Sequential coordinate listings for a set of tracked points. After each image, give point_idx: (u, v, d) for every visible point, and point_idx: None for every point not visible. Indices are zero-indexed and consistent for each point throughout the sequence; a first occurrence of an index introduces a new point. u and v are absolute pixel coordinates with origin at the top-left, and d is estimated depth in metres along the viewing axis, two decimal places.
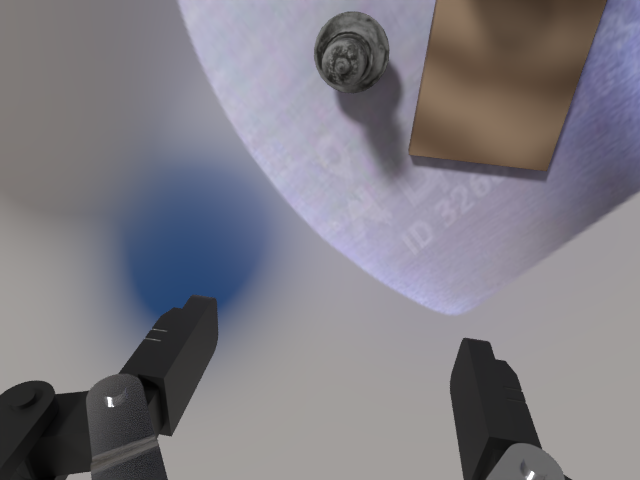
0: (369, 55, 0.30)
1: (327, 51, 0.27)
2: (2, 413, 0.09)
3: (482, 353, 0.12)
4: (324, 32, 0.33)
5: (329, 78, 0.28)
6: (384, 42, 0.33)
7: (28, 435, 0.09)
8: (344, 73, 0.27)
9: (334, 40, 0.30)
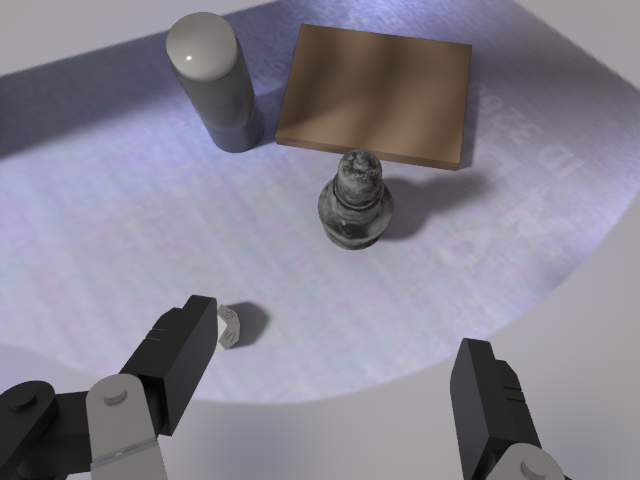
0: None
1: (346, 181, 0.27)
2: (2, 413, 0.09)
3: (482, 353, 0.12)
4: (333, 229, 0.33)
5: (373, 180, 0.27)
6: None
7: (28, 436, 0.09)
8: (368, 162, 0.27)
9: (339, 196, 0.30)
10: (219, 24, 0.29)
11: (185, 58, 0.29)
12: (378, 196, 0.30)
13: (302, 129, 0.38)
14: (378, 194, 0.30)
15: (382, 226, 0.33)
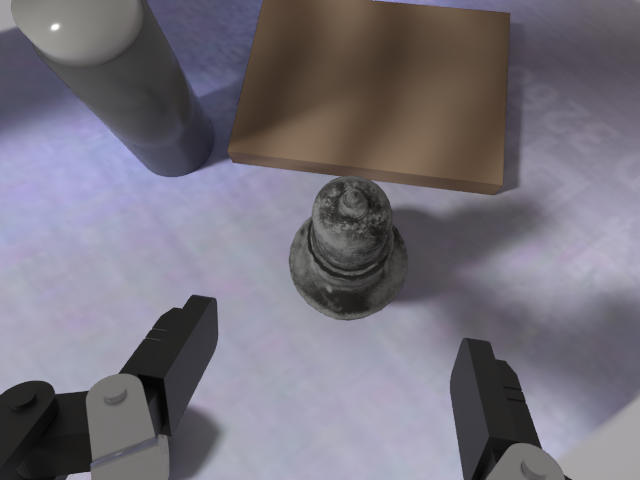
0: None
1: (328, 237, 0.15)
2: (2, 413, 0.09)
3: (482, 353, 0.12)
4: (314, 298, 0.21)
5: (376, 234, 0.14)
6: None
7: (28, 435, 0.09)
8: (367, 201, 0.14)
9: (318, 255, 0.17)
10: None
11: (42, 25, 0.16)
12: (386, 253, 0.17)
13: (267, 140, 0.26)
14: (385, 249, 0.17)
15: (391, 291, 0.21)
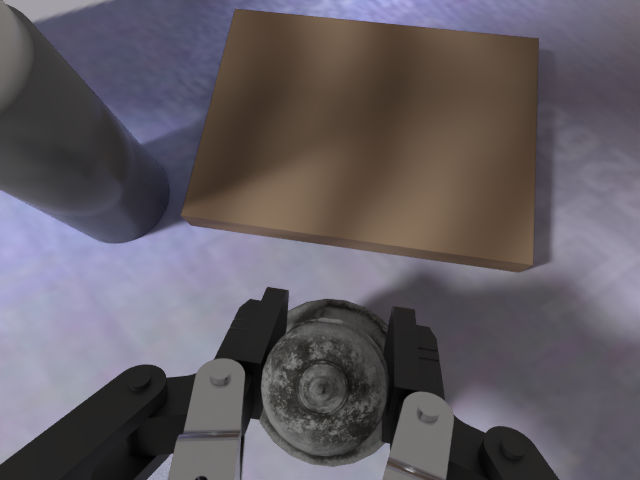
0: None
1: (283, 434, 0.09)
2: (121, 388, 0.10)
3: (405, 319, 0.13)
4: None
5: (360, 433, 0.09)
6: (312, 308, 0.17)
7: (133, 419, 0.10)
8: (345, 381, 0.09)
9: None
10: None
11: None
12: None
13: (232, 201, 0.20)
14: None
15: None
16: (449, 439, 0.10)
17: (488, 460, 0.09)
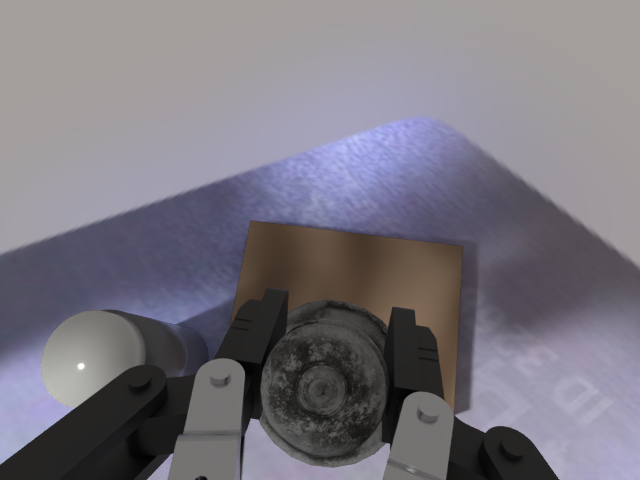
0: None
1: (282, 435, 0.09)
2: (120, 388, 0.10)
3: (405, 319, 0.13)
4: None
5: (359, 435, 0.09)
6: (311, 308, 0.17)
7: (133, 418, 0.10)
8: (344, 382, 0.09)
9: None
10: (114, 330, 0.21)
11: (66, 388, 0.21)
12: None
13: None
14: None
15: None
16: (449, 439, 0.10)
17: (488, 460, 0.09)
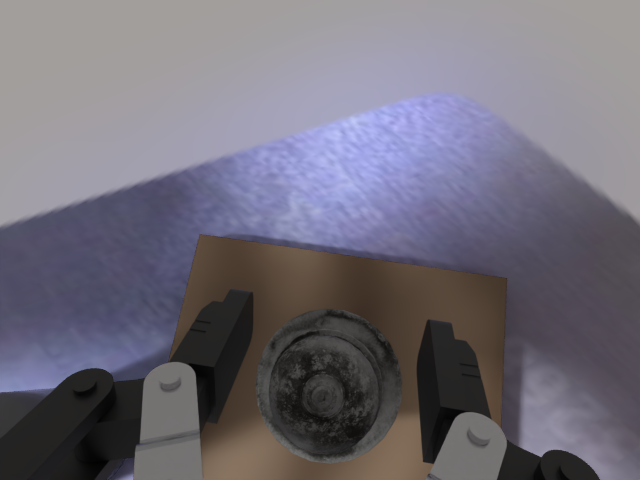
0: None
1: (288, 435, 0.10)
2: (65, 396, 0.10)
3: (443, 333, 0.13)
4: (284, 436, 0.17)
5: (355, 435, 0.10)
6: (312, 317, 0.18)
7: (84, 423, 0.09)
8: (342, 389, 0.10)
9: None
10: None
11: None
12: None
13: None
14: None
15: (381, 428, 0.17)
16: (498, 466, 0.09)
17: None
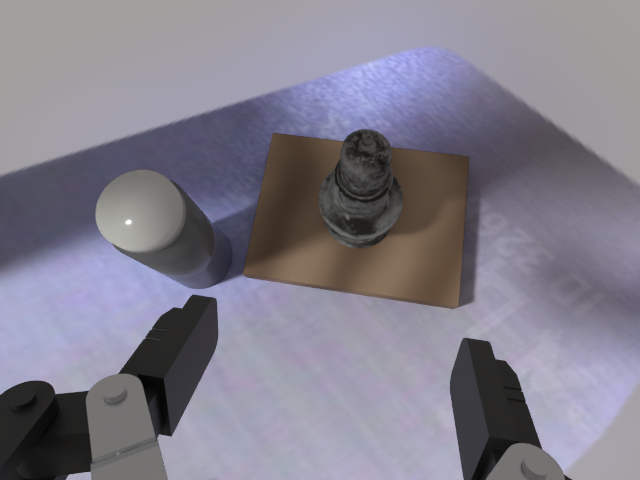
0: None
1: (351, 166, 0.23)
2: (2, 413, 0.09)
3: (482, 353, 0.12)
4: (336, 225, 0.29)
5: (381, 164, 0.23)
6: None
7: (29, 436, 0.09)
8: (376, 143, 0.23)
9: (342, 186, 0.26)
10: (161, 185, 0.24)
11: (118, 232, 0.23)
12: (387, 185, 0.26)
13: (274, 264, 0.33)
14: (387, 182, 0.26)
15: (391, 220, 0.29)
16: None
17: None
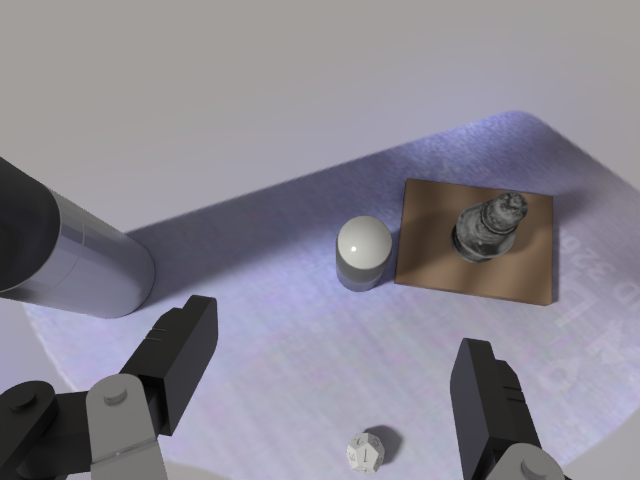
0: None
1: (503, 215, 0.36)
2: (2, 413, 0.09)
3: (482, 353, 0.12)
4: (471, 248, 0.43)
5: (523, 214, 0.36)
6: (477, 205, 0.44)
7: (28, 436, 0.09)
8: None
9: (487, 224, 0.39)
10: (378, 226, 0.37)
11: (355, 257, 0.37)
12: (517, 224, 0.39)
13: (418, 275, 0.46)
14: None
15: (509, 245, 0.43)
16: None
17: None
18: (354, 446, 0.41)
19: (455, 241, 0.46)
